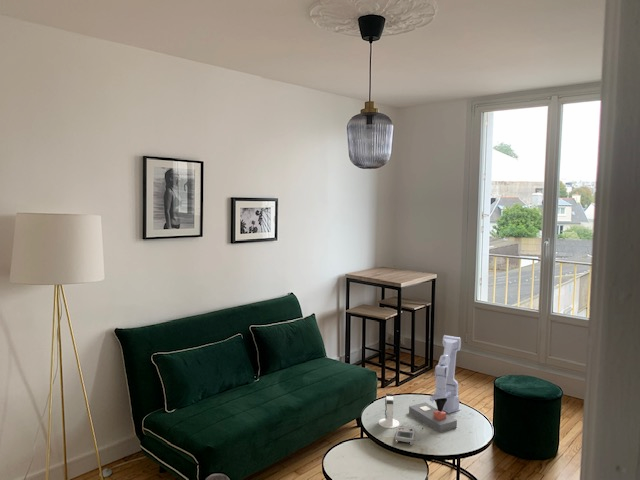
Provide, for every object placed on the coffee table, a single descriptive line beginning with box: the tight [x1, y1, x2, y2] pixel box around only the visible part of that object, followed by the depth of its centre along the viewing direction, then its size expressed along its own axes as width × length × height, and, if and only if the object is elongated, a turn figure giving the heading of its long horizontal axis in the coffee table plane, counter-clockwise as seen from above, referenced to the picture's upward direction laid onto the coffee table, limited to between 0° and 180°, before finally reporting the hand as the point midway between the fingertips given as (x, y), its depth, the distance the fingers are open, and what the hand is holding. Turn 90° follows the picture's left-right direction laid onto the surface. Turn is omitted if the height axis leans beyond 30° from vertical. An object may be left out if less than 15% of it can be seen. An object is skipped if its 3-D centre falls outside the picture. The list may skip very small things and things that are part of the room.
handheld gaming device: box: [394, 424, 416, 446], centre depth 253 cm, size 9×15×4 cm, turn 165°
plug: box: [419, 406, 431, 412], centre depth 279 cm, size 5×5×4 cm
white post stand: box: [378, 393, 400, 429], centre depth 269 cm, size 12×11×15 cm
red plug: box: [433, 410, 447, 420], centre depth 268 cm, size 5×5×4 cm
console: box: [408, 402, 458, 433], centre depth 274 cm, size 26×12×4 cm, turn 29°
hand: (439, 410), depth 268 cm, fingers closed
